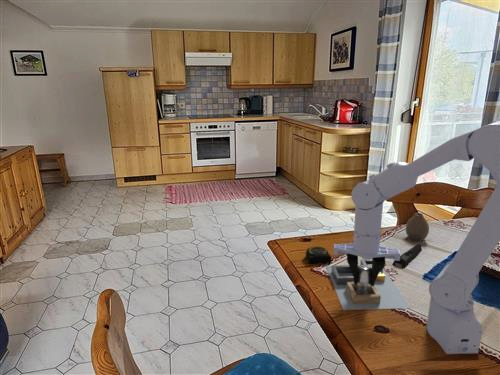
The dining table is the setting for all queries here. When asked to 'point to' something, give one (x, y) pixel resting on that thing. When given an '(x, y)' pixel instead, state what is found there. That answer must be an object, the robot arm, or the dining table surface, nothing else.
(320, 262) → the tape measure
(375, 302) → the brown piece
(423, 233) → the vase
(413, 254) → the electric trimmer
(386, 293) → the board
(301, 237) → the dining table surface
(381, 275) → the key
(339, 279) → the socket
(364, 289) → the frosted capsule tube
